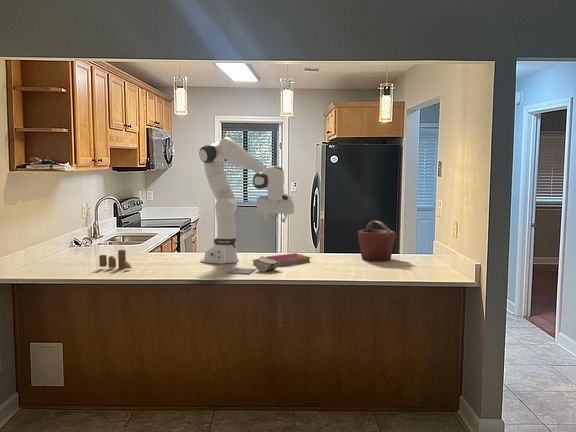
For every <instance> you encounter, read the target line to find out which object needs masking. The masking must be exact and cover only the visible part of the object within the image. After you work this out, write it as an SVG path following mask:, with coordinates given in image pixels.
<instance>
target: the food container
mask: <svg viewBox="0 0 576 432" xmlns="http://www.w3.org/2000/svg"><path fill="white" fill-rule="evenodd" d="M265 257H266V256H264V255H261V256H259V258H256V259H257V260H256V261H254V263H255V265H254V268H255V269H256V270H258V271H259V272H260V273H266V272H267V271H273V270H275V269H277V268H279V267H278V265H279V263H280V261H276V260H273V259H270V258H265Z"/></svg>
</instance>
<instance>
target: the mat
mask: <svg viewBox="0 0 576 432" xmlns="http://www.w3.org/2000/svg"><path fill="white" fill-rule="evenodd" d="M256 270H257V268H242V267H241V268H237V267H235V268H233V269H230V270H229V271H227V274H229V275H231V274H232V275H247V276H248V275H251V274H252V273H254V272H255V271H256Z"/></svg>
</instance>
